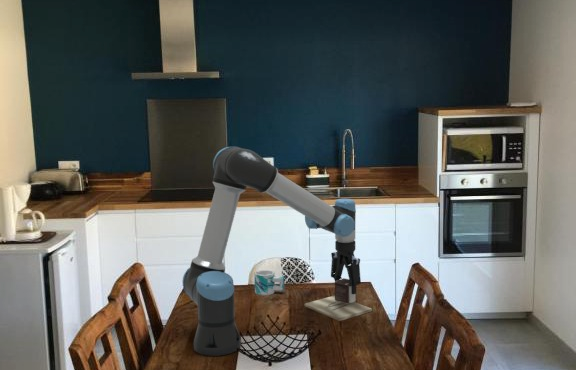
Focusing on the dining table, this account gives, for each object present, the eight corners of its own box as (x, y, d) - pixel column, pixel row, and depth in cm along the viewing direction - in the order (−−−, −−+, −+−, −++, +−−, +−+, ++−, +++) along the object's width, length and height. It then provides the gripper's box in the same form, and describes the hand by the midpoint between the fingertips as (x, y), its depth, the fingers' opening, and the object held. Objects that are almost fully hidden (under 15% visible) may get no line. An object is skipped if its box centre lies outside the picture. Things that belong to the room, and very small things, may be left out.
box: (343, 296, 232) (343, 277, 231) (356, 299, 228) (356, 280, 227) (334, 300, 228) (334, 281, 227) (347, 303, 224) (347, 284, 223)
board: (339, 321, 213) (339, 318, 213) (304, 306, 229) (304, 303, 229) (371, 311, 223) (371, 308, 222) (336, 297, 239) (336, 294, 238)
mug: (259, 288, 252) (258, 269, 251) (286, 290, 248) (286, 270, 247) (252, 294, 244) (252, 274, 243) (280, 296, 241) (280, 276, 239)
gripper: (371, 243, 219) (370, 303, 222) (335, 234, 235) (335, 290, 238) (356, 246, 214) (356, 308, 218) (320, 237, 230) (321, 294, 234)
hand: (345, 299), depth 228 cm, fingers closed on box, 7 cm apart
